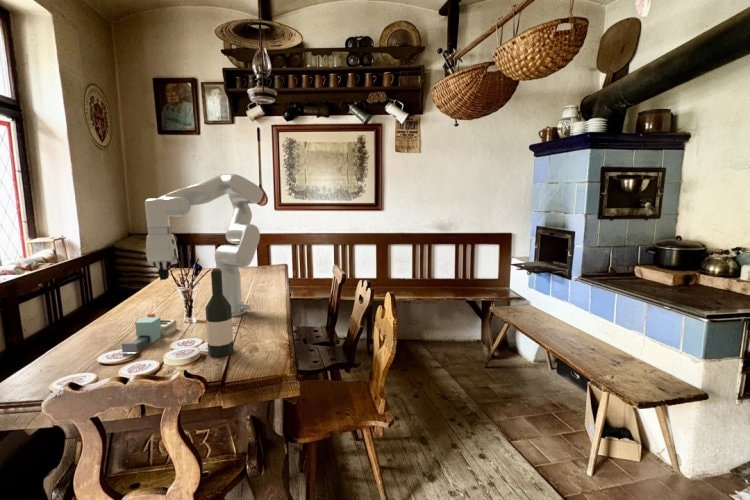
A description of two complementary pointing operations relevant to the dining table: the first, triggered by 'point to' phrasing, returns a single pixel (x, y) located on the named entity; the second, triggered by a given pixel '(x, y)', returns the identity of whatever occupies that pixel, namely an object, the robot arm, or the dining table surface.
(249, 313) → the dining table surface
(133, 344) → the rail
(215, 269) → the wine bottle
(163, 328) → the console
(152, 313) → the orange clay brick
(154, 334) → the carriage
